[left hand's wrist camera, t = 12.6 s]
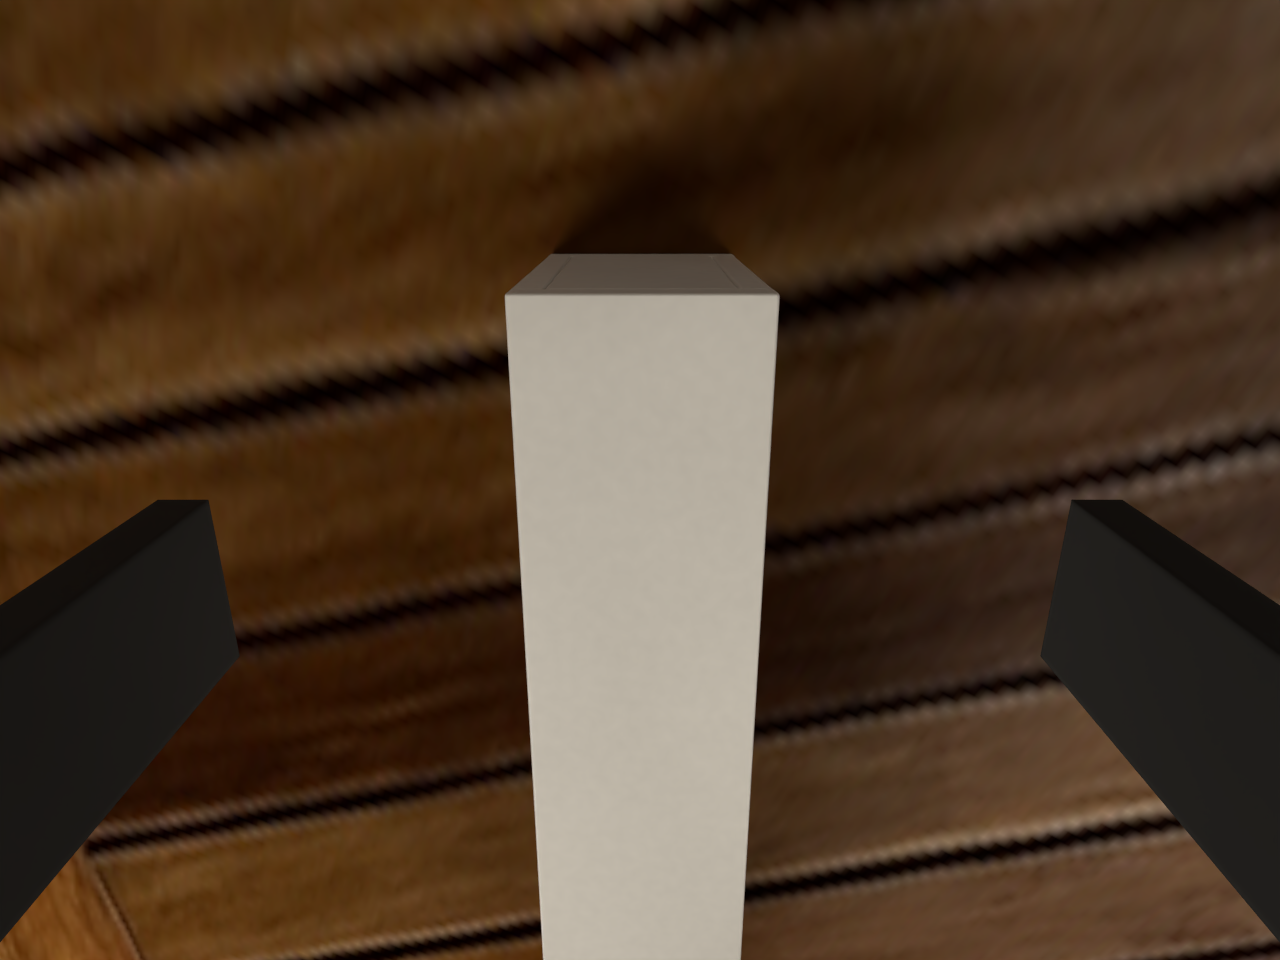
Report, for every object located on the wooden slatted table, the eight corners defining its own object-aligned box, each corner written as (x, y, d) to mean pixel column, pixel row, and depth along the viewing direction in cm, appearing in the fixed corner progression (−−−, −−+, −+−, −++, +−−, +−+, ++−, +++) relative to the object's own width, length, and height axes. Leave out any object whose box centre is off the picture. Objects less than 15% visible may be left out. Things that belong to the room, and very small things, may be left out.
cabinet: (712, 796, 33) (737, 1015, 25) (570, 796, 33) (546, 1015, 25) (733, 253, 26) (779, 293, 17) (550, 253, 26) (503, 293, 17)
